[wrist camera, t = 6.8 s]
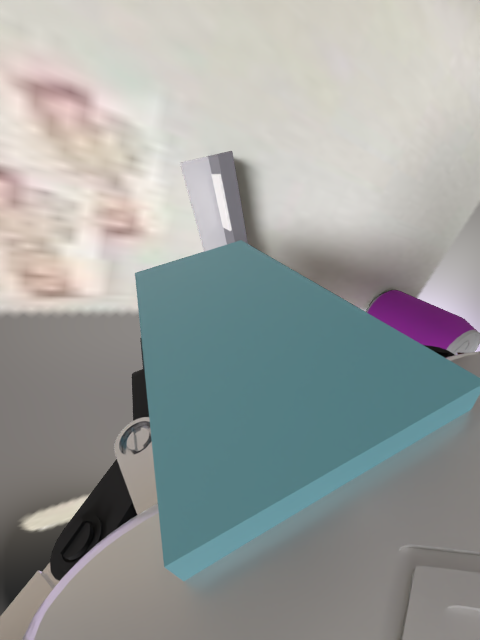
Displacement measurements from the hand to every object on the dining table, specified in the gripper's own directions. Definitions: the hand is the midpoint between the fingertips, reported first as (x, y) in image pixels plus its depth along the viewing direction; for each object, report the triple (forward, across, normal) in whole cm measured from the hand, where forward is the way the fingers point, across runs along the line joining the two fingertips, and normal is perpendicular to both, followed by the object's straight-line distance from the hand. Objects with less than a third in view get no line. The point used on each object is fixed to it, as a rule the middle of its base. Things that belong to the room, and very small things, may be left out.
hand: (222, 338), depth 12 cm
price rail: (+15, -5, 0) cm, 16 cm away
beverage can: (+16, -28, +18) cm, 37 cm away
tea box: (+2, 0, 0) cm, 2 cm away
